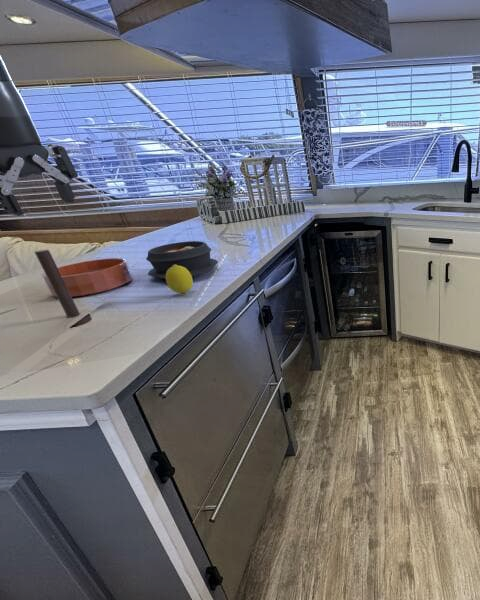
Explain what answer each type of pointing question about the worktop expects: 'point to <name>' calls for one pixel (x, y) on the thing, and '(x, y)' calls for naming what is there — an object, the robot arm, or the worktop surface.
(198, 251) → the casserole
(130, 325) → the worktop surface
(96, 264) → the bowl
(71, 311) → the muddler
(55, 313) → the worktop surface
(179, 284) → the lemon
